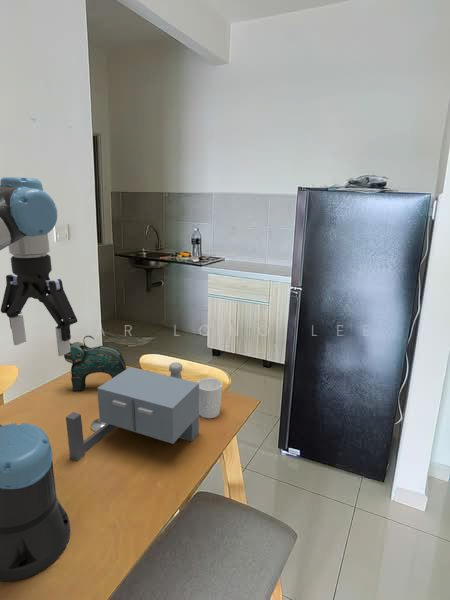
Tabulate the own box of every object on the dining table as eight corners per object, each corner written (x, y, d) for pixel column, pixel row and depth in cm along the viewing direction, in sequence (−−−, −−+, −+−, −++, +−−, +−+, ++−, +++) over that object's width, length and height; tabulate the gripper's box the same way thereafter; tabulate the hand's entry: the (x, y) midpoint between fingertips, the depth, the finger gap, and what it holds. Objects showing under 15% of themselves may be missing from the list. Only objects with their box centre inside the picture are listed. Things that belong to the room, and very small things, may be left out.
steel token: (114, 429, 109) (113, 426, 109) (92, 435, 106) (91, 432, 106) (111, 418, 114) (110, 415, 114) (90, 423, 112) (89, 420, 111)
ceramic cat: (66, 393, 128) (60, 338, 122) (73, 384, 134) (68, 331, 128) (125, 394, 128) (122, 339, 122) (129, 384, 134) (127, 332, 129)
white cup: (226, 412, 118) (227, 383, 116) (208, 422, 113) (209, 393, 110) (209, 403, 123) (209, 375, 121) (191, 412, 118) (191, 383, 115)
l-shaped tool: (77, 460, 96) (73, 419, 92) (70, 458, 97) (65, 417, 93) (123, 423, 112) (121, 386, 108) (116, 420, 113) (114, 384, 109)
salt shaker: (188, 398, 126) (188, 363, 122) (177, 406, 121) (177, 369, 117) (175, 393, 129) (174, 358, 125) (163, 401, 124) (162, 365, 120)
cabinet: (171, 466, 94) (170, 410, 90) (99, 442, 103) (94, 389, 99) (198, 433, 108) (198, 383, 103) (132, 414, 116) (129, 366, 112)
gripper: (89, 257, 78) (97, 352, 83) (5, 248, 87) (17, 334, 93) (61, 262, 71) (71, 365, 77) (-27, 252, 80) (-12, 344, 86)
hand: (41, 348), depth 85 cm, fingers open, 13 cm apart
